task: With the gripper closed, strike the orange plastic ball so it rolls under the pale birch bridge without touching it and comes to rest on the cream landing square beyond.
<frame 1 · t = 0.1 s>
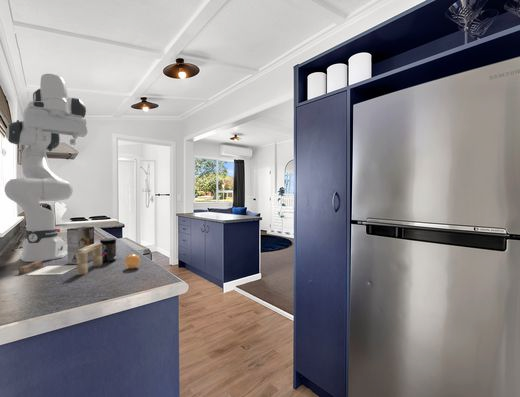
hand: (58, 142, 107), 52 cm above the table, tool tilted 20°, fingers open, 8 cm apart
coffee box: (81, 262, 128), on the table
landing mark: (54, 270, 114), on the table
supplement container: (108, 261, 130), on the table
stopper: (31, 270, 114), on the table
ball: (132, 261, 118), on the table
bridge: (90, 269, 116), on the table
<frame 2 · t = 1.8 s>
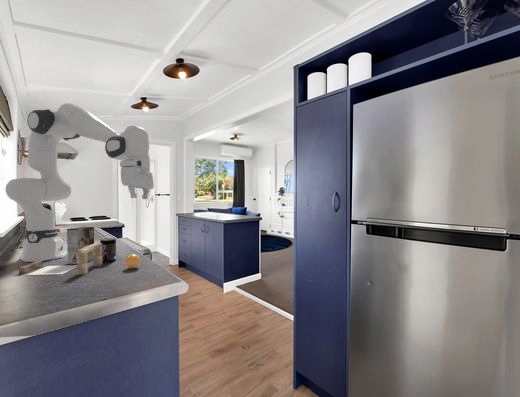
hand: (139, 198, 112), 30 cm above the table, tool pointing down, fingers open, 8 cm apart
nothing on the table moved.
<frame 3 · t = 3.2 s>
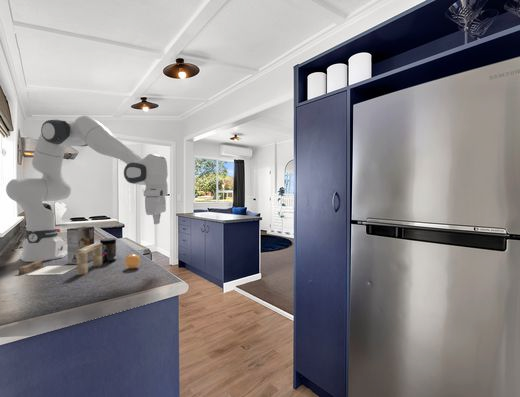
hand: (156, 223, 119), 19 cm above the table, tool pointing down, fingers closed
nothing on the table moved.
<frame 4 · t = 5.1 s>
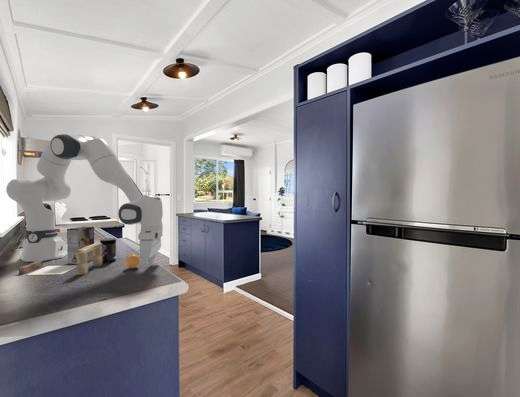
hand: (151, 264, 119), 2 cm above the table, tool pointing down, fingers closed
nothing on the table moved.
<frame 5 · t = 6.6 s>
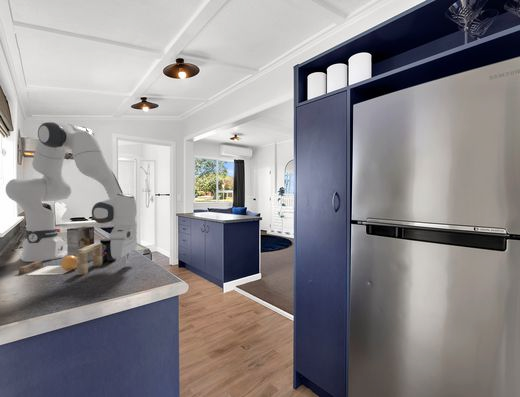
hand: (125, 263, 118), 2 cm above the table, tool pointing down, fingers closed
ball: (69, 262, 115), on the table
everything else where it was.
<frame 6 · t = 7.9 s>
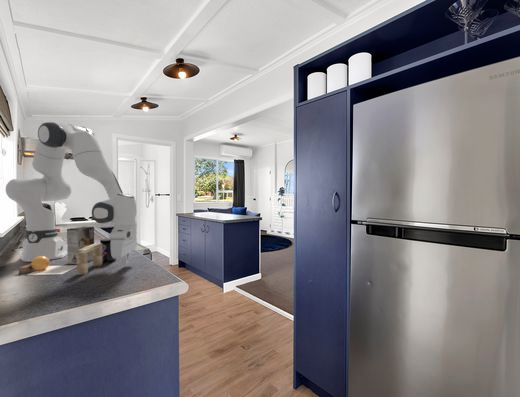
hand: (125, 263, 118), 2 cm above the table, tool pointing down, fingers closed
ball: (40, 263, 114), on the table
everything else where it was.
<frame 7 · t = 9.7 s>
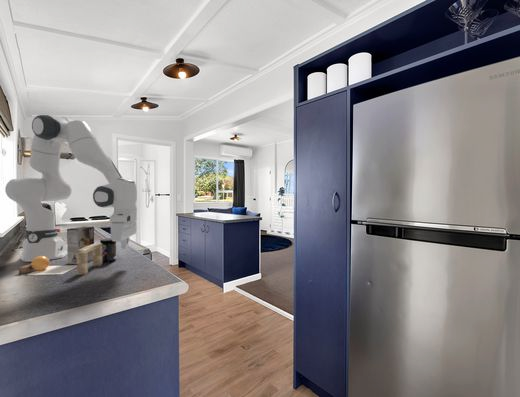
hand: (124, 248, 118), 9 cm above the table, tool pointing down, fingers closed
nothing on the table moved.
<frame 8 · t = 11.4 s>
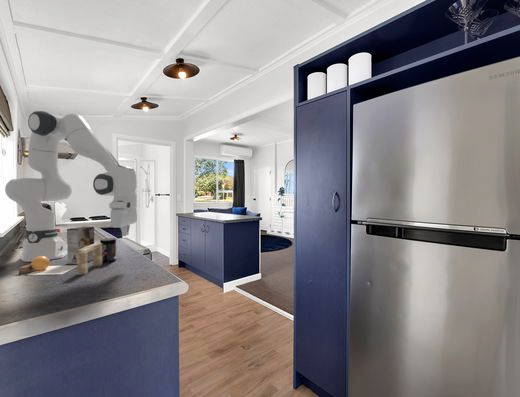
hand: (125, 235, 117), 14 cm above the table, tool pointing down, fingers closed
nothing on the table moved.
at the end: ball 5.5 cm from the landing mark (horizontally); ball never touched bridge; ball at rest at the end (0.0 cm/s) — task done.
